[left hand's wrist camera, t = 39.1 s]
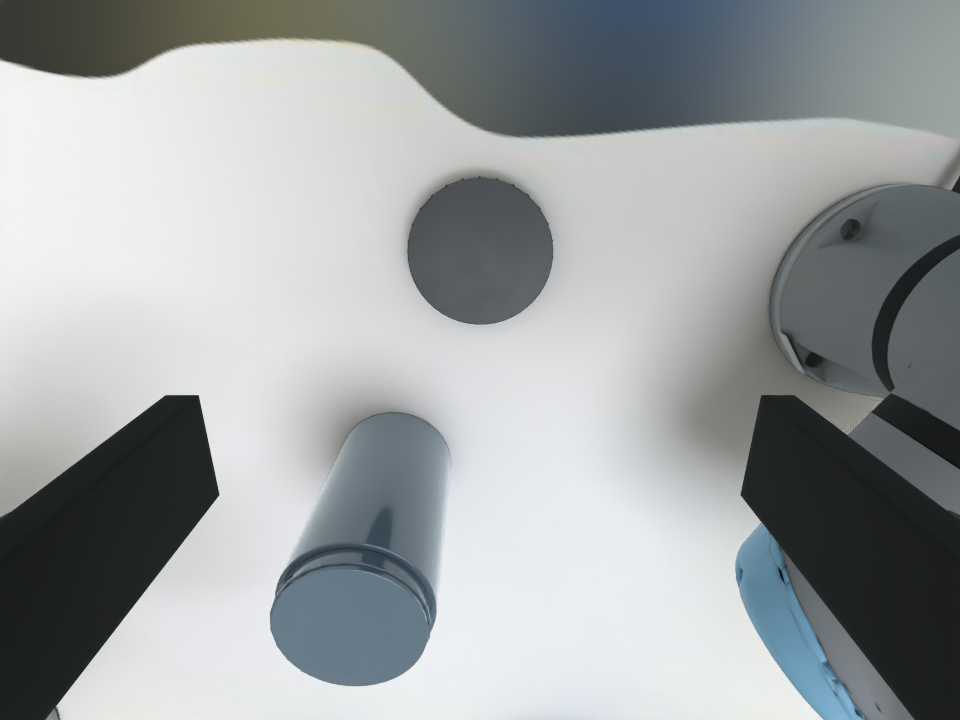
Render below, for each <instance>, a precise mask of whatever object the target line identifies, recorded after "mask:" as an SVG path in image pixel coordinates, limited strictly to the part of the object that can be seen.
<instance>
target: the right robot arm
mask: <svg viewBox="0 0 960 720" xmlns="http://www.w3.org/2000/svg"><path fill="white" fill-rule="evenodd" d="M46 720H58V716H57V713H56V710H55V708H54V709H53V711H52V712H51V713H50V715H49V716H48V717H47V718H46Z"/></svg>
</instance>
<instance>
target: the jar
mask: <svg viewBox="0 0 960 720" xmlns="http://www.w3.org/2000/svg"><path fill="white" fill-rule="evenodd" d="M450 467H451V459H450V453H449V449H448V447H447V444H446V442H445V441H444V439H443V437H442V436H441V435H440V433H439V432H438V431H437V430H436V429H435V428H434V427H433V426H431V425H430V424H428V423H427V422H425V421H424V420H422V419H420V418H417V417H415V416H412V415H408V414H403V413H383V414H378V415H375V416H372V417H370V418H368V419H366V420H364V421H362V422H361V423H359V424H358V425H357V426H356V427H355V428H354V429H353V430H352V431H351V432H350V433H349V435H348V436H347V438H346V440H345V442H344V444H343V446H342V448H341V451H340V453H339V455H338V457H337V459H336V461H335V463H334V465H333V467H332V469H331V472H330V474H329V476H328V478H327V480H326V482H325V484H324V486H323V488H322V490H321V492H320V495H319V497H318V499H317V501H316V503H315V505H314V507H313V509H312V511H311V513H310V516H309V518H308V520H307V522H306V524H305V526H304V528H303V530H302V532H301V534H300V536H299V539H298V541H297V543H296V545H295V547H294V549H293V551H292V553H291V555H290V557H289V560H288V562H287V564H286V566H285V568H284V570H283V572H282V574H281V576H280V579H279V581H278V583H277V587H276V592H275V599H274V602H273V605H272V608H271V611H270V625H271V628H270V630H271V632H272V635H273V637H274V640H275V642H276V645H277V647H278V648H279V649H280V651H281V652H282V654H283V655H284V656H285V657H286V658H287V660H288V661H290V662H291V663H292V664H293V665H294V666H296V667H297V668H298V669H300V670H301V671H302V672H304V673H306V674H308V675H310V676H312V677H315V678H317V679H319V680H322V681H325V682H328V683H333V684H337V685H345V686H368V685H374V684H379V683H383V682H386V681H389V680H391V679H394V678H396V677H398V676H400V675H402V674H403V673H405V672H406V671H407V670H409V669H410V668H411V667H412V666H413V665H414V664H415V663H416V662H417V661H418V659H419V658H420V656H421V655H422V653H423V651H424V649H425V646H426V644H427V642H428V640H429V638H430V632H431V630H432V628H433V626H434V623H435V619H436V614H437V604H438V593H439V583H440V572H441V562H442V551H443V541H444V530H445V520H446V509H447V499H448V488H449V478H450Z"/></svg>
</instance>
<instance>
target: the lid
mask: <svg viewBox="0 0 960 720" xmlns="http://www.w3.org/2000/svg"><path fill="white" fill-rule="evenodd" d="M514 186H515V185H514V184H512V185H511V184H508V183H506V182H504V181H501V180H498V178H496V179H493V178H484V177H481V176H479V178H469V179H463V178H462V179H461V180H460V181H457V182H454V183H452V184H450V185H446V186H445V188H443V189H441V190H440V191H438V192H437V193H436V194H435V195H432V196H431V198H430V199H429V200H428V201H427V202H426V204H425V205H424V206H423V207H422V208H420V212H419V213H418V215H417V217H416V219H415V221H414V223H413V224H412V228H411V231H410V236H409V240H408V262H409V267H410V271H411V275H412V277H413V280H414V282H415V284H416V286H417V288H418V290H419V291H420V293H421V294H422V296H423V297H424V298H425V299H426V300H427V302H428V303H429V304H431V305H432V306H433V307H434V308H435V309H436V310H438V311H439V312H441V313H442V314H444V315H446V316H448V317H449V318H452V319H454V320H457V321H460V322H464V323H469V324H492V323H497V322H501V321H504V320H506V319H509V318H511V317H513V316H515V315H517V314H519V313H520V312H522V311H523V310H524V309H526V308H527V307H528V306H529V305H530V304H531V303H532V302H533V301H534V300H535V299H536V298H537V296H538V295H539V294H540V292H541V291H542V289H543V287H544V286H545V284H546V281H547V279H548V277H549V274H550V270H551V266H552V260H553V244H552V241H553V240H552V237H551V233H550V229H549V226H548V225H549V224H548V222H547V221H546V219H545V217H544V215H543V214H542V212H541V210H540V207H538V206H537V205H536V204H535V203H534V202H533V201H532V200H531V199H530V197H529V195H528V194H525V193H523V192H522V191H521V190H519V189H518V188H516V187H514Z"/></svg>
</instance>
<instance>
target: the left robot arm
mask: <svg viewBox="0 0 960 720" xmlns="http://www.w3.org/2000/svg"><path fill="white" fill-rule="evenodd" d="M770 319H771V326H772V330H773V334H774V337H775V339H776V342H777V344H778V346H779V348H780V349H781V351H782V352H783V354H784V355H785V357H786V358H787V359H788V360H789V361H790V362H791V363H792V364H793V365H794V366H795V368H796V369H797V370H798V371H800V372H801V373H803V374H804V373H805V374H807V375H808V376H810V377H811V378H813V379H814V380H816V381H818V382H820V383H822V384H825V385H827V386H830V387H833V388H835V389H838V390H842V391H846V392H850V393H857V394H863V395H869V396H875V397H881V398H885V399H884V400H883V401H882V402H881V403H880V404H879V405H878V406H877V407H876V408H875V409H874V410H873V411H872V412H871V413H870V414H869V415H868V416H867V417H866V418H865V419H864V420H863V421H862V422H861V423H860V424H859V425H858V426H857V427H856V428H855V429H854V430H853V431H852V432H851V433H850V434H849V435H848V436H847V435H846V434H845V433H844V432H842V431H841V430H840V429H838V428H837V427H836V426H834V425H833V424H832V423H830V422H829V421H828V420H826V419H825V418H824V417H822V416H821V415H820V414H818V413H817V412H816V411H814V410H813V409H812V408H810V407H809V406H808V405H806V404H805V403H804V402H802V401H801V400H800V399H798V398H797V397H796V396H794V395H761V400H760V404H759V409H758V414H757V419H756V424H755V428H754V433H753V438H752V443H751V448H750V452H749V457H748V462H747V467H746V471H745V476H744V481H743V486H742V491H741V496H742V497H743V499H744V500H745V501H746V503H747V504H748V505H749V506H750V508H751V509H752V510H753V512H754V513H755V514H756V516H757V517H758V518H759V519H760V521H761V522H762V523H761V524H760V525H759V526H758V527H757V528H756V529H755V531H754V532H753V533H752V534H751V535H750V536H749V537H748V538H747V540H746V541H745V542H744V543H743V544H742V546H741V547H740V549H739V552H738V554H737V558H736V564H735V571H736V580H737V583H738V586H739V589H740V596H741V599H742V601H743V604H744V606H745V609H746V611H747V613H748V615H749V617H750V619H751V621H752V623H753V625H754V627H755V629H756V631H757V633H758V634H759V636H760V638H761V639H762V641H763V643H764V644H765V646H766V648H767V649H768V651H769V652H770V654H771V655H772V657H773V658H774V660H775V661H776V663H777V664H778V665H779V667H780V668H781V670H782V671H783V672H784V674H785V675H786V676H787V678H788V679H789V680H790V682H791V683H792V684H793V686H794V687H795V688H796V689H797V691H798V692H799V693H800V694H801V695H802V697H803V698H804V699H805V700H806V701H807V702H808V704H809V705H810V706H811V707H812V708H813V709H814V710H815V711H816V712H817V713H818V714H819V715H820V716H821V717H822V718H823V719H824V720H960V176H959V178H958V180H957V182H956V183H955V185H954V187H953V188H952V190H951V191H949V190H946V189H943V188H939V187H934V186H926V185H911V184H894V185H886V186H880V187H876V188H872V189H868V190H865V191H862V192H860V193H857V194H855V195H852V196H850V197H848V198H846V199H844V200H842V201H840V202H839V203H837V204H836V205H834V206H832V207H831V208H829V209H828V210H827V211H825V212H824V213H823V214H821V215H820V216H819V217H818V218H816V219H815V220H814V221H813V222H812V223H811V224H810V225H809V226H808V227H807V228H806V229H805V230H804V231H803V232H802V233H801V235H800V236H799V237H798V238H797V239H796V241H795V242H794V243H793V245H792V246H791V248H790V249H789V251H788V252H787V254H786V256H785V257H784V259H783V261H782V263H781V265H780V267H779V270H778V272H777V275H776V278H775V281H774V285H773V288H772V294H771V301H770ZM805 374H804V375H805ZM218 496H219V491H218V486H217V481H216V476H215V471H214V467H213V462H212V457H211V452H210V448H209V443H208V438H207V433H206V428H205V424H204V419H203V414H202V409H201V404H200V400H199V395H166V396H164V397H163V398H162V399H160V400H159V401H158V402H156V403H155V404H154V405H152V406H151V407H150V408H148V409H147V410H146V411H144V412H143V413H142V414H140V415H139V416H138V417H136V418H135V419H134V420H132V421H131V422H130V423H128V424H127V425H126V426H124V427H123V428H122V429H120V430H119V431H118V432H116V433H115V434H114V435H113V436H111V437H110V438H109V439H107V440H106V441H105V442H103V443H102V444H101V445H99V446H98V447H97V448H95V449H94V450H93V451H91V452H90V453H89V454H87V455H86V456H85V457H83V458H82V459H81V460H79V461H78V462H77V463H75V464H74V465H73V466H71V467H70V468H69V469H67V470H66V471H65V472H63V473H62V474H61V475H60V476H58V477H57V478H56V479H54V480H53V481H52V482H50V483H49V484H48V485H46V486H45V487H44V488H42V489H41V490H40V491H38V492H37V493H36V494H34V495H33V496H32V497H30V498H29V499H28V500H26V501H25V502H24V503H22V504H21V505H20V506H18V507H17V508H16V509H14V510H13V511H12V512H10V513H8V514H6V515H4V516H2V517H0V720H46V718H47V717H48V716H49V715H50V713H51V712H52V711H53V709H54V708H55V707H56V706H57V704H58V703H59V702H60V700H61V699H62V698H63V696H64V695H65V694H66V693H67V691H68V690H69V689H70V687H71V686H72V685H73V684H74V682H75V681H76V680H77V678H78V677H79V676H80V675H81V673H82V672H83V671H84V669H85V668H86V667H87V665H88V664H89V663H90V662H91V660H92V659H93V658H94V656H95V655H96V654H97V653H98V651H99V650H100V649H101V647H102V646H103V645H104V643H105V642H106V641H107V640H108V638H109V637H110V636H111V634H112V633H113V632H114V631H115V629H116V628H117V627H118V625H119V624H120V623H121V622H122V620H123V619H124V618H125V616H126V615H127V614H128V612H129V611H130V610H131V609H132V607H133V606H134V605H135V603H136V602H137V601H138V600H139V598H140V597H141V596H142V594H143V593H144V592H145V590H146V589H147V588H148V587H149V585H150V584H151V583H152V581H153V580H154V579H155V578H156V576H157V575H158V574H159V572H160V571H161V570H162V569H163V567H164V566H165V565H166V563H167V562H168V561H169V559H170V558H171V557H172V556H173V554H174V553H175V552H176V550H177V549H178V548H179V547H180V545H181V544H182V543H183V541H184V540H185V539H186V538H187V536H188V535H189V534H190V532H191V531H192V530H193V528H194V527H195V526H196V525H197V523H198V522H199V521H200V519H201V518H202V517H203V516H204V514H205V513H206V512H207V510H208V509H209V508H210V506H211V505H212V504H213V503H214V501H215V500H216V499H217V497H218Z"/></svg>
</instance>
